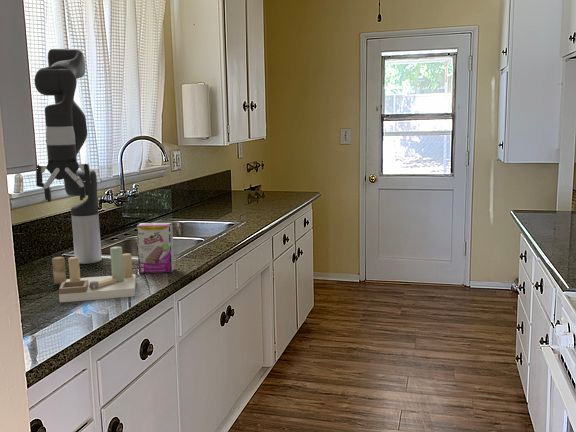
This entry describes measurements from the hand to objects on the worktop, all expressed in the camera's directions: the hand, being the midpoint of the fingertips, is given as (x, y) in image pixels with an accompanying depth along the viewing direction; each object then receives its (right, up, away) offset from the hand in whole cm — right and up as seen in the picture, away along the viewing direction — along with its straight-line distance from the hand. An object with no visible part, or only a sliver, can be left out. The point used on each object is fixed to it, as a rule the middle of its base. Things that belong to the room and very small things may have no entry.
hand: (65, 200), depth 164 cm
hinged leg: (+9, -24, +9) cm, 27 cm away
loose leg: (-9, -25, +20) cm, 34 cm away
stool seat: (+6, -27, +10) cm, 30 cm away
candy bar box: (+19, -23, +32) cm, 43 cm away
